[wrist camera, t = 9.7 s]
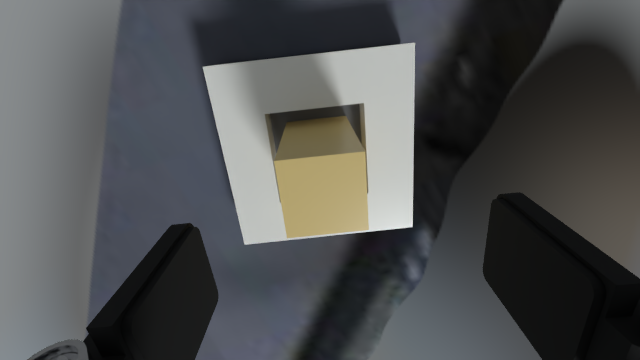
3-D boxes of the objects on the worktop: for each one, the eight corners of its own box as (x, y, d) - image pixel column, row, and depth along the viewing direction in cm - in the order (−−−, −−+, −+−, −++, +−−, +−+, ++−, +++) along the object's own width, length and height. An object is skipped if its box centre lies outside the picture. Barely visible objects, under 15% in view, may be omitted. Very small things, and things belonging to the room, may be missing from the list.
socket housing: (402, 43, 20) (415, 42, 17) (402, 210, 24) (412, 226, 22) (215, 64, 20) (202, 66, 17) (250, 226, 24) (244, 244, 22)
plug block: (345, 115, 21) (365, 151, 13) (349, 170, 22) (368, 229, 15) (286, 121, 21) (273, 160, 14) (294, 176, 22) (286, 238, 15)
